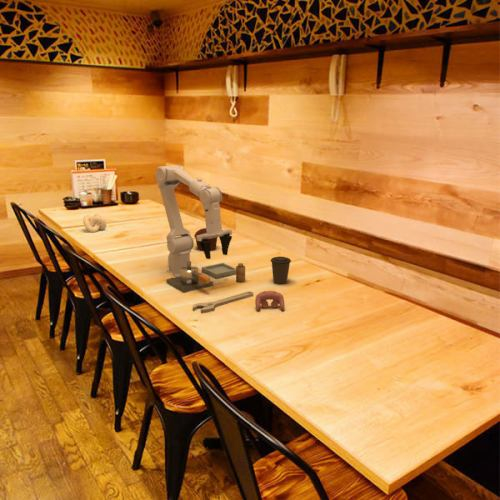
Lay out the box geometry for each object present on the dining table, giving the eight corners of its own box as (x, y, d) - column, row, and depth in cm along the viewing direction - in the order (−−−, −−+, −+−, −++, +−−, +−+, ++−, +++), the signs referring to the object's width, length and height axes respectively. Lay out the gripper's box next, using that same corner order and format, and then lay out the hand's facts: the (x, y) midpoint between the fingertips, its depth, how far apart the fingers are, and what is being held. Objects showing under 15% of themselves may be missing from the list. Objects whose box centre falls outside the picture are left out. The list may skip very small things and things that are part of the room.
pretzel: (82, 229, 264) (81, 213, 262) (104, 227, 269) (103, 211, 267) (84, 233, 254) (83, 217, 252) (107, 231, 259) (106, 215, 257)
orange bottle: (234, 280, 187) (234, 263, 185) (241, 278, 189) (241, 261, 187) (239, 283, 184) (239, 265, 182) (246, 281, 186) (247, 264, 184)
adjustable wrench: (250, 294, 174) (250, 290, 174) (260, 300, 169) (260, 295, 169) (190, 309, 160) (190, 304, 160) (199, 315, 155) (199, 310, 155)
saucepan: (176, 279, 182) (176, 261, 180) (192, 275, 187) (192, 257, 184) (199, 291, 170) (199, 272, 168) (215, 287, 174) (215, 268, 172)
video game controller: (283, 311, 162) (283, 291, 164) (285, 310, 158) (284, 290, 159) (255, 311, 162) (254, 291, 163) (255, 310, 158) (255, 290, 159)
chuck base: (166, 282, 183) (166, 279, 183) (194, 276, 191) (194, 272, 191) (183, 292, 174) (183, 289, 173) (212, 285, 181) (212, 281, 181)
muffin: (220, 246, 234) (220, 226, 231) (216, 252, 223) (216, 232, 221) (196, 245, 235) (196, 225, 232) (192, 251, 224) (191, 231, 222)
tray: (201, 271, 196) (201, 267, 196) (223, 267, 203) (222, 262, 202) (216, 279, 188) (216, 274, 188) (238, 273, 195) (238, 269, 194)
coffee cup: (289, 286, 181) (290, 261, 179) (268, 284, 183) (268, 260, 180) (291, 279, 189) (292, 255, 186) (271, 277, 190) (272, 254, 188)
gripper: (202, 224, 166) (206, 261, 169) (235, 218, 175) (238, 254, 177) (192, 223, 172) (196, 259, 174) (224, 217, 180) (227, 252, 183)
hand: (216, 256), depth 176 cm, fingers open, 7 cm apart
